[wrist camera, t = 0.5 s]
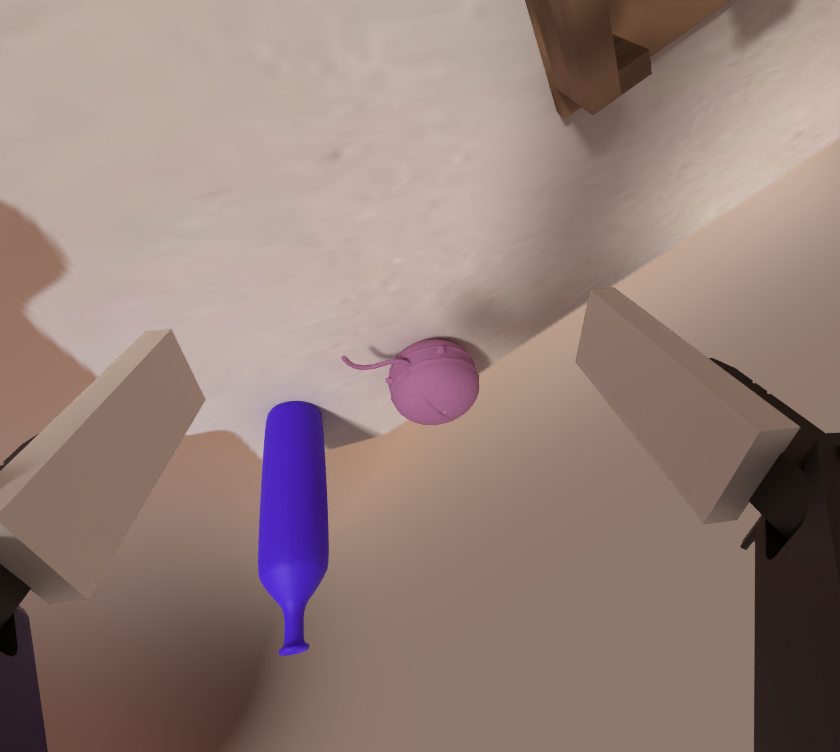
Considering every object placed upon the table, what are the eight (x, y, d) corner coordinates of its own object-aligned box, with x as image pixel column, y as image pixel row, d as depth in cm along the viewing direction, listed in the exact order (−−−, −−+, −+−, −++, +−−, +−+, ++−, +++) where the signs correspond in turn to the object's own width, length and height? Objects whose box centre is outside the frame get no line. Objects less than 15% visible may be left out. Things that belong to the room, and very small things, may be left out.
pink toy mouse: (415, 392, 60) (428, 448, 54) (331, 330, 47) (336, 395, 41) (480, 355, 56) (503, 411, 50) (409, 276, 43) (428, 338, 37)
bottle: (321, 396, 56) (333, 638, 38) (324, 427, 63) (336, 648, 44) (260, 401, 55) (242, 658, 36) (270, 432, 61) (259, 665, 42)
